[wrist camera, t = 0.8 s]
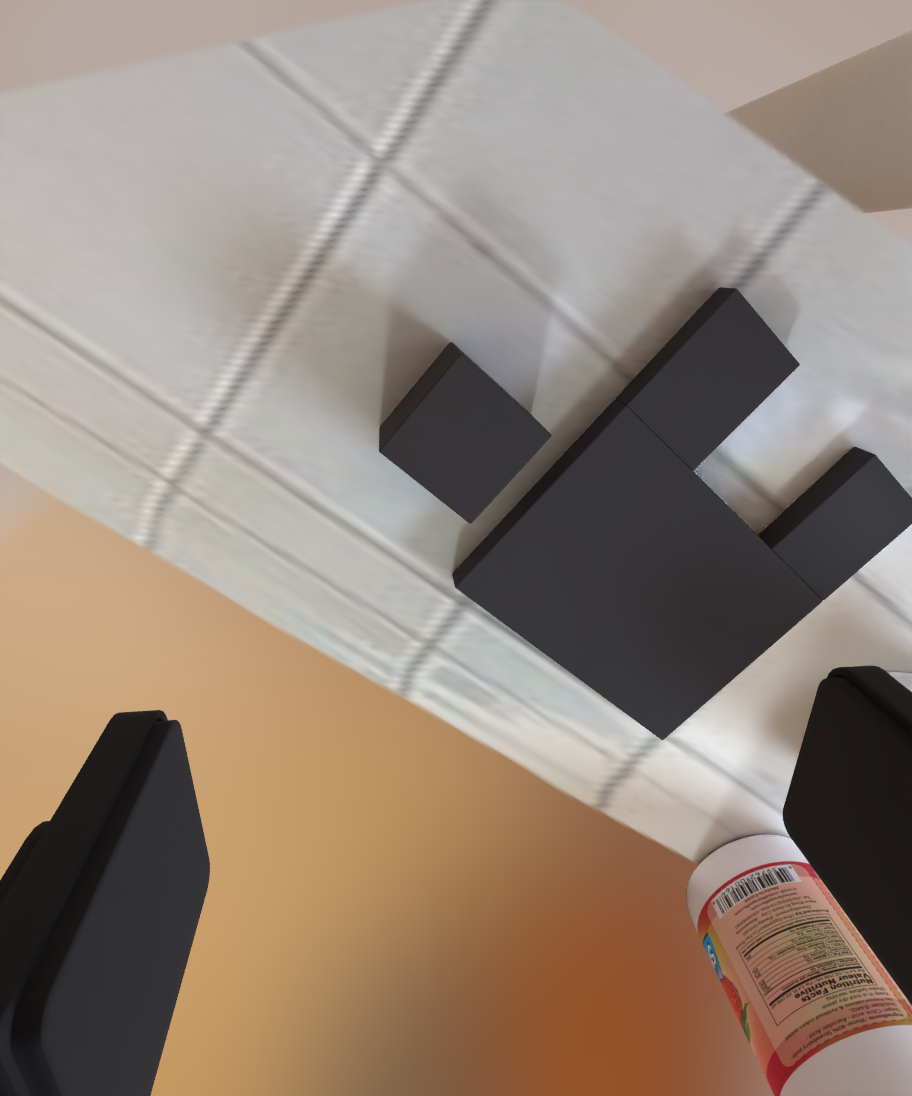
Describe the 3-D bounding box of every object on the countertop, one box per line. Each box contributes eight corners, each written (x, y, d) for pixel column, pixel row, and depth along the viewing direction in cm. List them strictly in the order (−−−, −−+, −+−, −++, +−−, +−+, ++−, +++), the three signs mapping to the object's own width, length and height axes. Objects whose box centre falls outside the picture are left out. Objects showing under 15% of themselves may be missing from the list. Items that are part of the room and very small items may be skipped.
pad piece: (450, 341, 28) (461, 352, 24) (531, 414, 29) (552, 436, 26) (378, 428, 29) (378, 451, 25) (460, 493, 31) (471, 524, 27)
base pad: (719, 286, 28) (736, 287, 27) (902, 503, 33) (924, 513, 32) (451, 573, 32) (454, 587, 31) (652, 723, 38) (662, 741, 36)
